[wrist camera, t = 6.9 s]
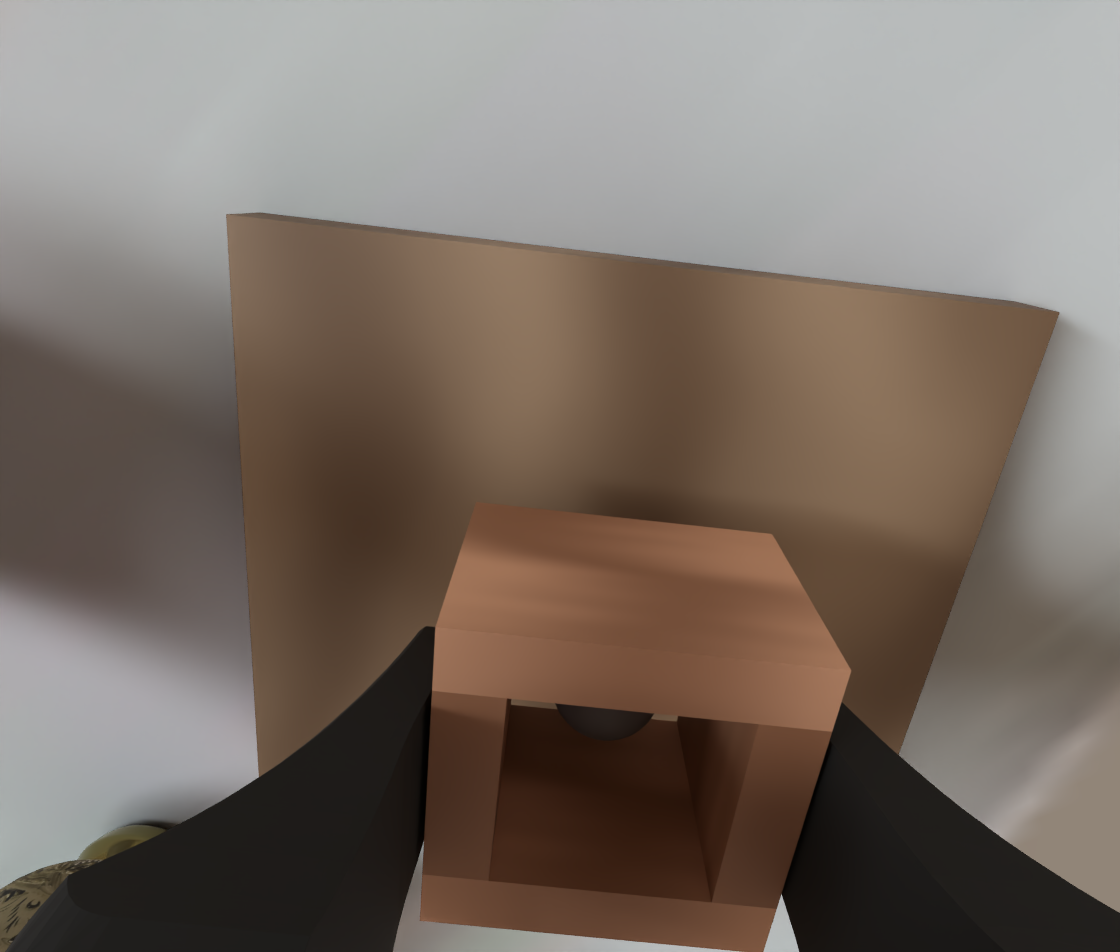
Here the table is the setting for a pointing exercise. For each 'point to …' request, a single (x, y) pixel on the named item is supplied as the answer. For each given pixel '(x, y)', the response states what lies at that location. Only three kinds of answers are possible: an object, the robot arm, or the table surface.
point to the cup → (60, 878)
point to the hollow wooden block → (638, 760)
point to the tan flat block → (598, 439)
